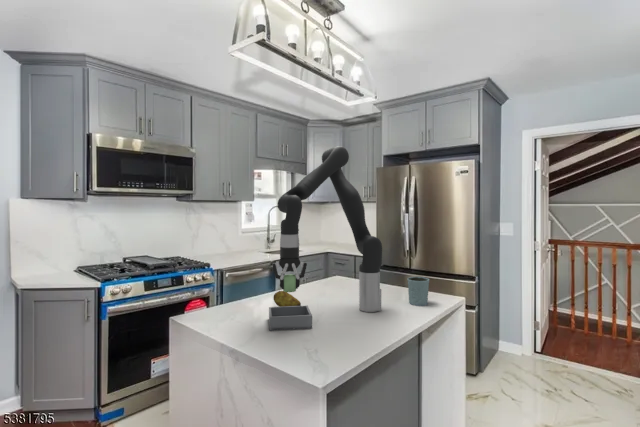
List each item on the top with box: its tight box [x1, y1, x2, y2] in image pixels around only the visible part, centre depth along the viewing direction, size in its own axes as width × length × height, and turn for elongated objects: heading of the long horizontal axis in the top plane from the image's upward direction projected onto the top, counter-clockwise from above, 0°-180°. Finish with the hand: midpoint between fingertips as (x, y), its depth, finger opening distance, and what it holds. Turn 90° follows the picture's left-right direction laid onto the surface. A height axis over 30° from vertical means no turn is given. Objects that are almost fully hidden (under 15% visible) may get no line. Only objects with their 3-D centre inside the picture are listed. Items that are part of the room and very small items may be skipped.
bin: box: [268, 305, 313, 332], centre depth 143 cm, size 16×14×5 cm
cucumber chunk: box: [282, 274, 297, 293], centre depth 143 cm, size 5×5×6 cm
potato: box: [273, 290, 302, 307], centre depth 162 cm, size 8×13×8 cm, turn 45°
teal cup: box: [407, 276, 430, 307], centre depth 172 cm, size 10×10×12 cm
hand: (289, 288), depth 143 cm, fingers closed on cucumber chunk, 5 cm apart
